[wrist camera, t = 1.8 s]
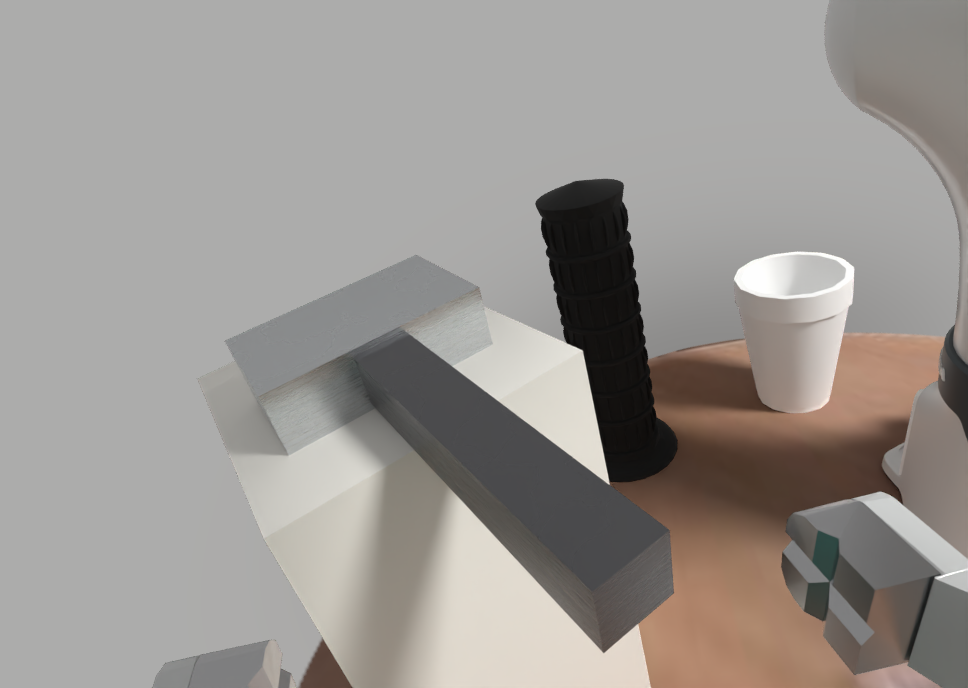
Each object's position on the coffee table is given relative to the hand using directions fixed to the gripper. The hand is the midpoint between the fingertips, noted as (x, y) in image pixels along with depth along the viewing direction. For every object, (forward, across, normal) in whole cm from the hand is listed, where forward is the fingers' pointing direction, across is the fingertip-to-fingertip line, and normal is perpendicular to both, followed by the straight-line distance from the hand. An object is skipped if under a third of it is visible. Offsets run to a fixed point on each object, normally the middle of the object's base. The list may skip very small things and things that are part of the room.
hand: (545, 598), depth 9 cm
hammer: (+12, +1, +5) cm, 13 cm away
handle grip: (+38, -16, +29) cm, 51 cm away
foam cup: (+38, -34, +27) cm, 58 cm away
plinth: (+20, +1, +31) cm, 37 cm away
